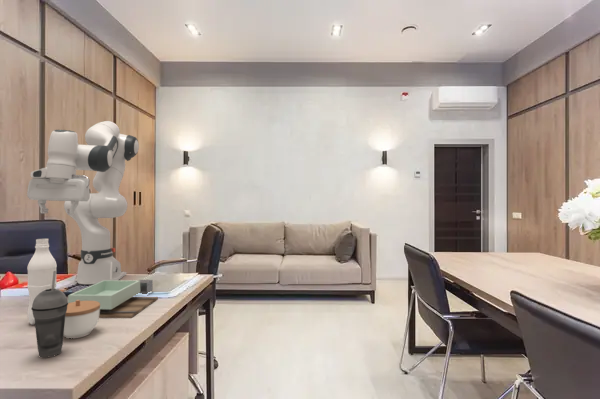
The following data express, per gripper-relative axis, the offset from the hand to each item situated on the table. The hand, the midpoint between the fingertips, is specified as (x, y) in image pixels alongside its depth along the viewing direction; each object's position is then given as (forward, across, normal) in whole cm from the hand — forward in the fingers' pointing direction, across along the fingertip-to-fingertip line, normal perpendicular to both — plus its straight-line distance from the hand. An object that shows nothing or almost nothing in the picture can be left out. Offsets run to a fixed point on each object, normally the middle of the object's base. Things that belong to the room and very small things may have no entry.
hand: (57, 213), depth 123 cm
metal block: (+30, -24, -17) cm, 42 cm away
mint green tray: (+30, -20, 0) cm, 36 cm away
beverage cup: (+35, -26, +34) cm, 56 cm away
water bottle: (+33, -9, +14) cm, 37 cm away
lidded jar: (+34, -25, +22) cm, 48 cm away
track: (+31, -23, 0) cm, 39 cm away
